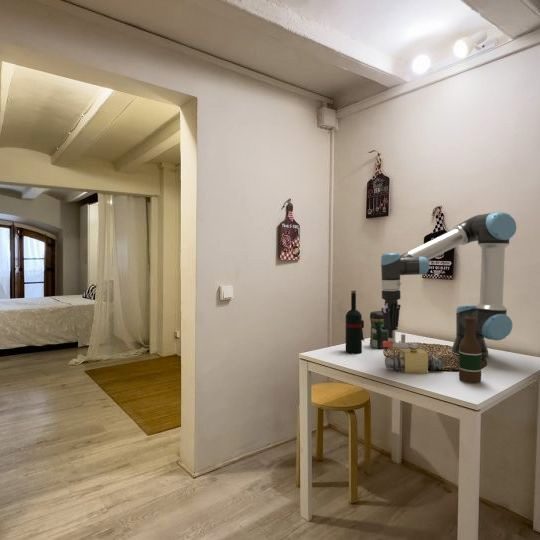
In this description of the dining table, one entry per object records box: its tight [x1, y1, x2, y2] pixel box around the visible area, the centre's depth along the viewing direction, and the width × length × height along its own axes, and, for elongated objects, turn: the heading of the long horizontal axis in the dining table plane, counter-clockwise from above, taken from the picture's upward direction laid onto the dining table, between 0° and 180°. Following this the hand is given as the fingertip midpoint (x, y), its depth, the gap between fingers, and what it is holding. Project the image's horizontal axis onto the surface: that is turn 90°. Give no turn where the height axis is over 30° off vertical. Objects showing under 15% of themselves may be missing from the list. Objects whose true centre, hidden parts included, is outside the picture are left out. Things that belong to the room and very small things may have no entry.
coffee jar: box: [369, 310, 388, 349], centre depth 194 cm, size 10×8×19 cm
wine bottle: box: [345, 290, 366, 355], centre depth 185 cm, size 8×10×30 cm
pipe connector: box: [398, 333, 409, 349], centre depth 177 cm, size 10×10×10 cm
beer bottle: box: [458, 317, 482, 384], centre depth 143 cm, size 8×8×24 cm
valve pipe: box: [384, 348, 444, 374], centre depth 156 cm, size 22×7×9 cm, turn 88°
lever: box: [383, 341, 420, 349], centre depth 157 cm, size 14×4×2 cm, turn 68°
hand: (391, 345), depth 161 cm, fingers closed
